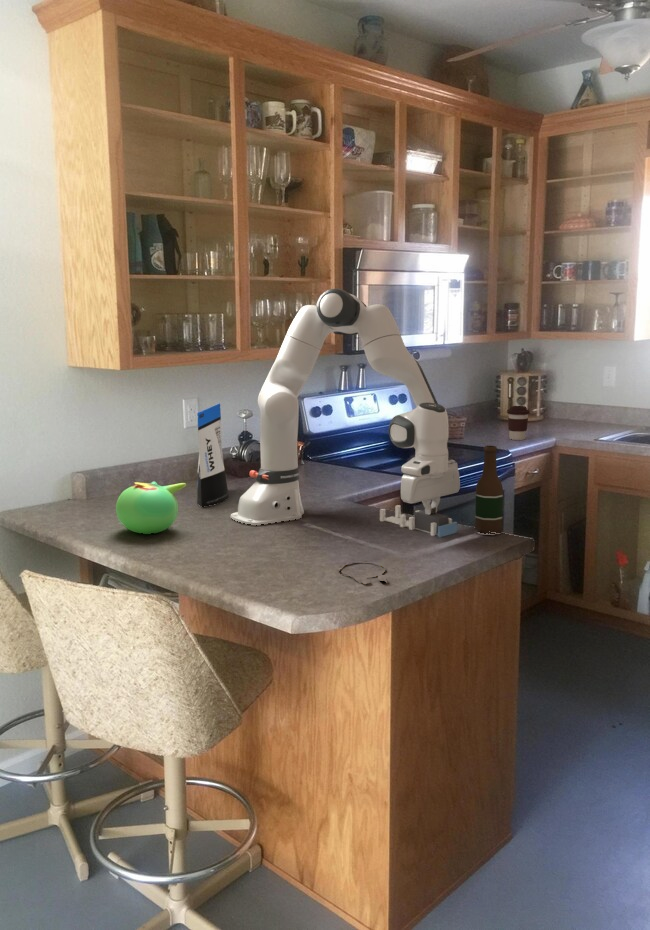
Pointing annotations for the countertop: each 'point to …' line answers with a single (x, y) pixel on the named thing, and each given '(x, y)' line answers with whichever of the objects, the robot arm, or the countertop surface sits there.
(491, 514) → the beer bottle
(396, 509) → the white peg rack
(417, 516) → the gray rectangular block
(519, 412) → the coffee cup
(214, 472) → the protein powder
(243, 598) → the countertop surface
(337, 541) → the countertop surface
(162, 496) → the round green spouted pot
